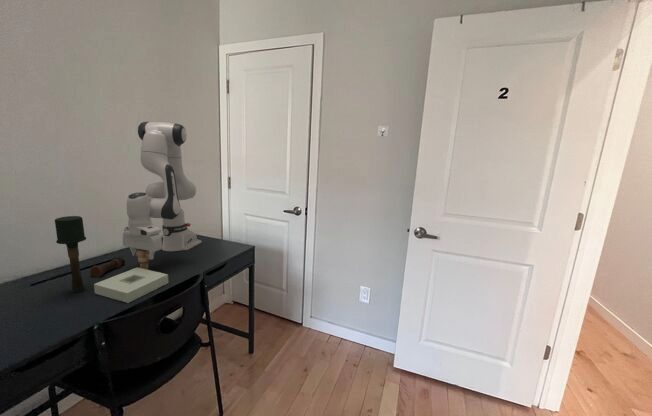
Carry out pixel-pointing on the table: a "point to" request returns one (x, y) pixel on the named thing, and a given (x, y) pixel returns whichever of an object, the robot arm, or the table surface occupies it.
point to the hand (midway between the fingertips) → (143, 257)
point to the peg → (143, 258)
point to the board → (131, 284)
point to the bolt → (106, 267)
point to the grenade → (72, 245)
